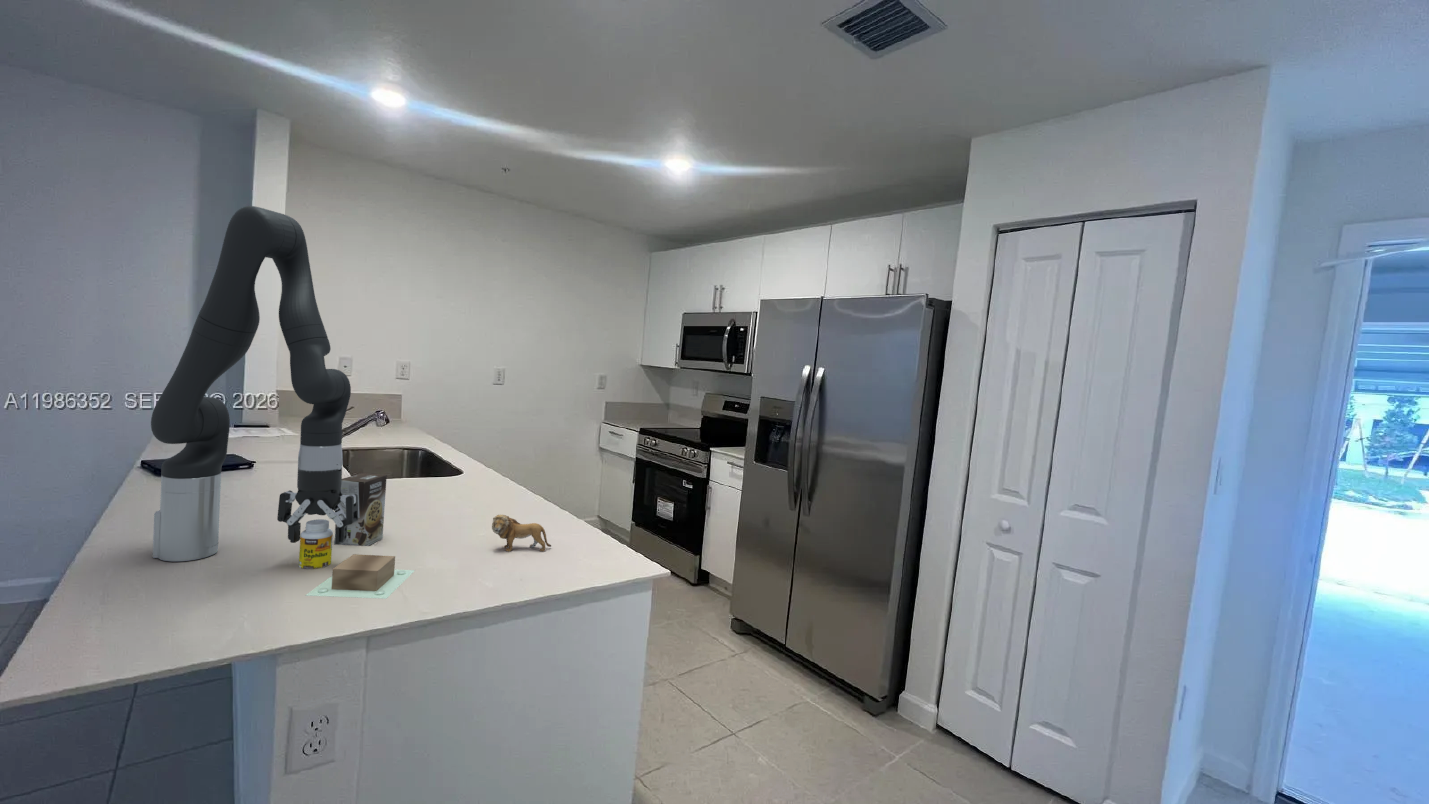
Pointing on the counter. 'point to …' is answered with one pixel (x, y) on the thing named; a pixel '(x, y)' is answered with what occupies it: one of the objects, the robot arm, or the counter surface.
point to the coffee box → (365, 508)
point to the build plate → (382, 592)
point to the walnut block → (363, 572)
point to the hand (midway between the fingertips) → (317, 542)
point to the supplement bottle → (316, 545)
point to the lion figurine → (518, 531)
